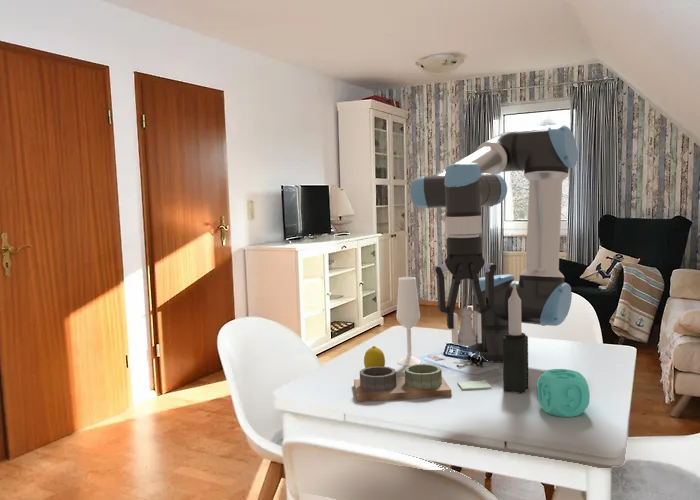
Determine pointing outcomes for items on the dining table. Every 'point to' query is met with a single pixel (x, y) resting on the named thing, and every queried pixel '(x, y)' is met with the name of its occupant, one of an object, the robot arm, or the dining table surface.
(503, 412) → the dining table surface
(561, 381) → the decorative dice
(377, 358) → the lemon
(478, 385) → the card
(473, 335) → the rook chess piece
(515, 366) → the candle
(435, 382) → the double bowl stand
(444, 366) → the dining table surface
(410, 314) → the champagne flute
